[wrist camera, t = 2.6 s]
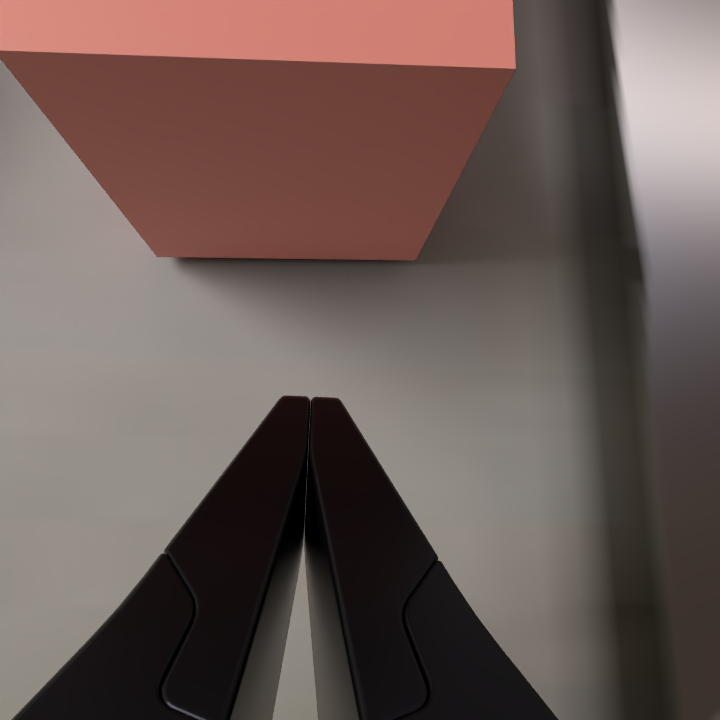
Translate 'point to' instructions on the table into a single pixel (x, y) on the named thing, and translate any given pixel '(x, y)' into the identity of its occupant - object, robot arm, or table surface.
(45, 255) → the table surface
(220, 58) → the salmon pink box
